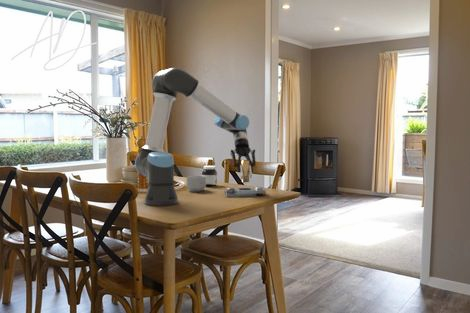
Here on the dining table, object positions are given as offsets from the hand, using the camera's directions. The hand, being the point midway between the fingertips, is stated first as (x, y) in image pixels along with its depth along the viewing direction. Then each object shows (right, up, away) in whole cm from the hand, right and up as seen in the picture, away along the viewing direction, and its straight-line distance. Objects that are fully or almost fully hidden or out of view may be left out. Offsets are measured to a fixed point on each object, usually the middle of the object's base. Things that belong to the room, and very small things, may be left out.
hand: (246, 176), depth 208 cm
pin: (-1, -3, +4) cm, 5 cm away
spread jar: (-22, -7, +35) cm, 42 cm away
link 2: (+2, -10, +5) cm, 11 cm away
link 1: (-3, -10, +4) cm, 11 cm away
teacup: (-27, -9, +18) cm, 33 cm away
